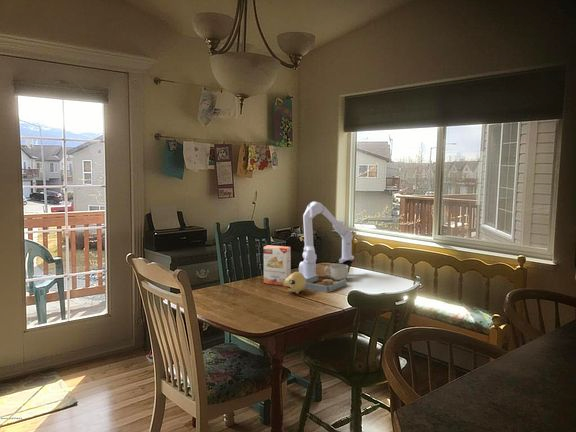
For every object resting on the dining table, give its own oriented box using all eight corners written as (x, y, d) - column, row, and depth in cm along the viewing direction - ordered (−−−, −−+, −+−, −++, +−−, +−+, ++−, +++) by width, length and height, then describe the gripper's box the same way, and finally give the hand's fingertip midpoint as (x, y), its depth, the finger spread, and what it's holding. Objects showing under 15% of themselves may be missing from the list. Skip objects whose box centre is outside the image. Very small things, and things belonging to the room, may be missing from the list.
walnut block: (322, 289, 239) (322, 280, 239) (326, 288, 243) (326, 279, 242) (329, 291, 237) (329, 281, 237) (333, 289, 240) (333, 280, 240)
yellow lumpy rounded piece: (279, 293, 233) (279, 272, 232) (295, 288, 242) (295, 268, 241) (293, 296, 226) (293, 275, 225) (309, 292, 235) (309, 271, 234)
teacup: (348, 277, 267) (348, 263, 266) (348, 281, 256) (348, 267, 255) (324, 276, 268) (324, 263, 267) (323, 281, 257) (323, 267, 257)
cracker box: (263, 284, 252) (262, 246, 250) (267, 281, 257) (267, 244, 255) (286, 286, 246) (286, 248, 244) (291, 283, 252) (290, 246, 250)
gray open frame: (297, 287, 245) (297, 281, 245) (316, 280, 260) (316, 274, 260) (328, 292, 234) (328, 286, 234) (346, 284, 249) (346, 279, 249)
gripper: (346, 252, 262) (346, 276, 263) (358, 249, 274) (358, 271, 275) (335, 251, 266) (335, 274, 267) (348, 248, 278) (348, 270, 279)
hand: (346, 272), depth 272 cm, fingers closed
